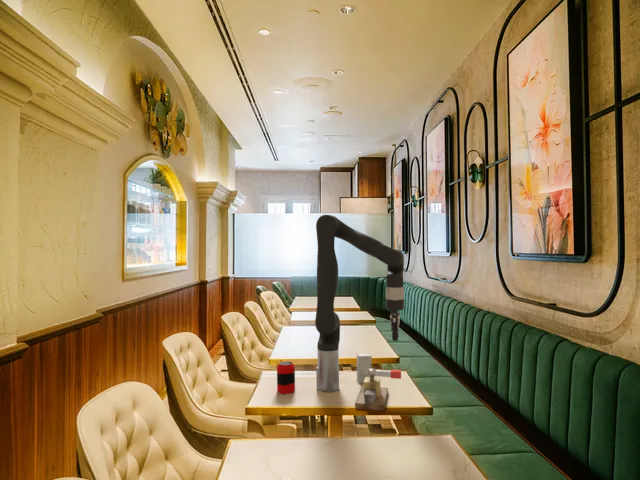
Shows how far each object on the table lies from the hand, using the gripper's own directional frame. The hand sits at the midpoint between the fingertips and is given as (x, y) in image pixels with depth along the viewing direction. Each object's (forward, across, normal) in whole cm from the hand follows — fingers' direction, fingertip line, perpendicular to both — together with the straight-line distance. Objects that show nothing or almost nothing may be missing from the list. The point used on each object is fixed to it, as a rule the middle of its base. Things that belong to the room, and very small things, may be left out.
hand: (395, 339), depth 171 cm
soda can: (+23, +5, -46) cm, 52 cm away
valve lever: (+13, +7, -4) cm, 16 cm away
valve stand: (+23, +7, -9) cm, 26 cm away
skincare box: (+23, -14, -15) cm, 31 cm away
